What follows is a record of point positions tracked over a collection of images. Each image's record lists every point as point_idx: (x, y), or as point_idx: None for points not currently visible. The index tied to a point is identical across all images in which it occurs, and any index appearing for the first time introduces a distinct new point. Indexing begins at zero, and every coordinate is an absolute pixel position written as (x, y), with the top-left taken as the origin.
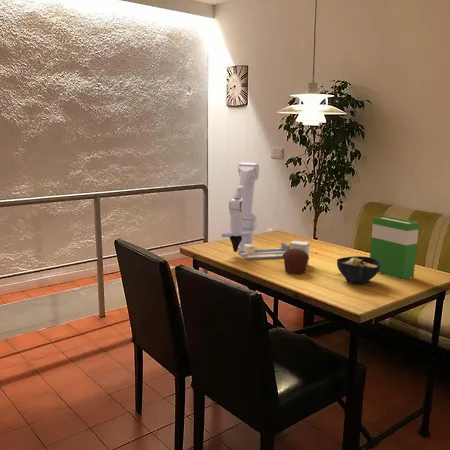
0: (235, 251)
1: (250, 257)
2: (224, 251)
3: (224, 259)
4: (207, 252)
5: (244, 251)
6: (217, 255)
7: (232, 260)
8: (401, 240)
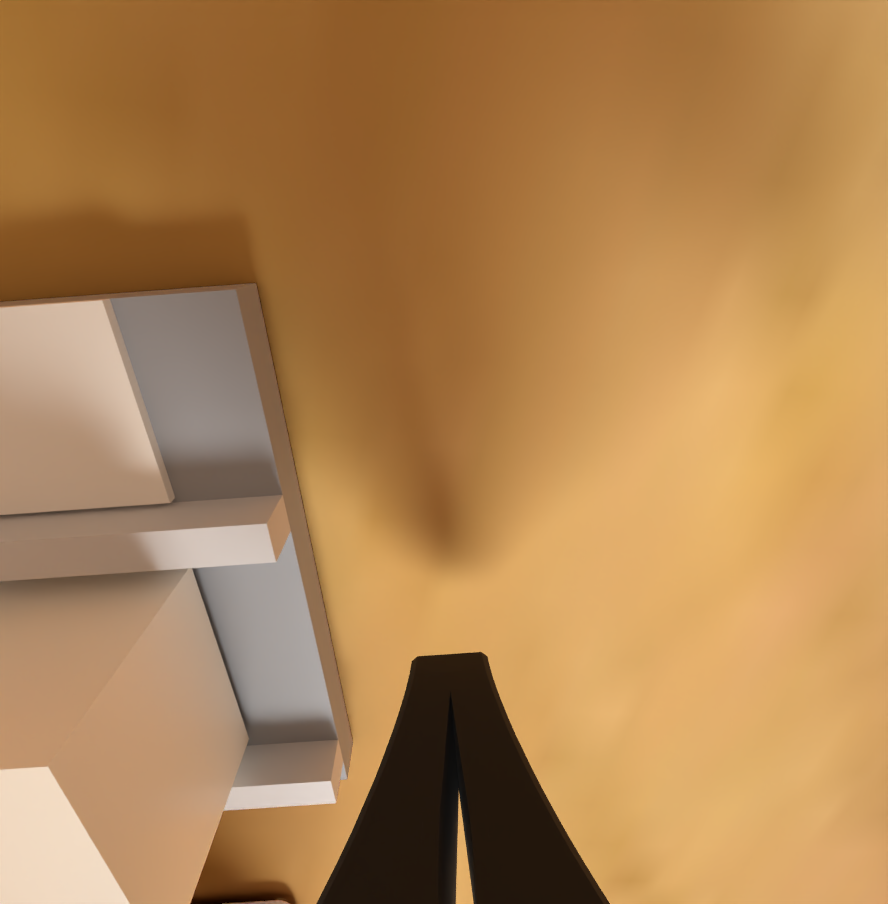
0: (460, 658)
1: (74, 303)
2: None
3: (769, 382)
4: (845, 810)
5: (219, 713)
6: (771, 665)
7: (609, 267)
8: None
